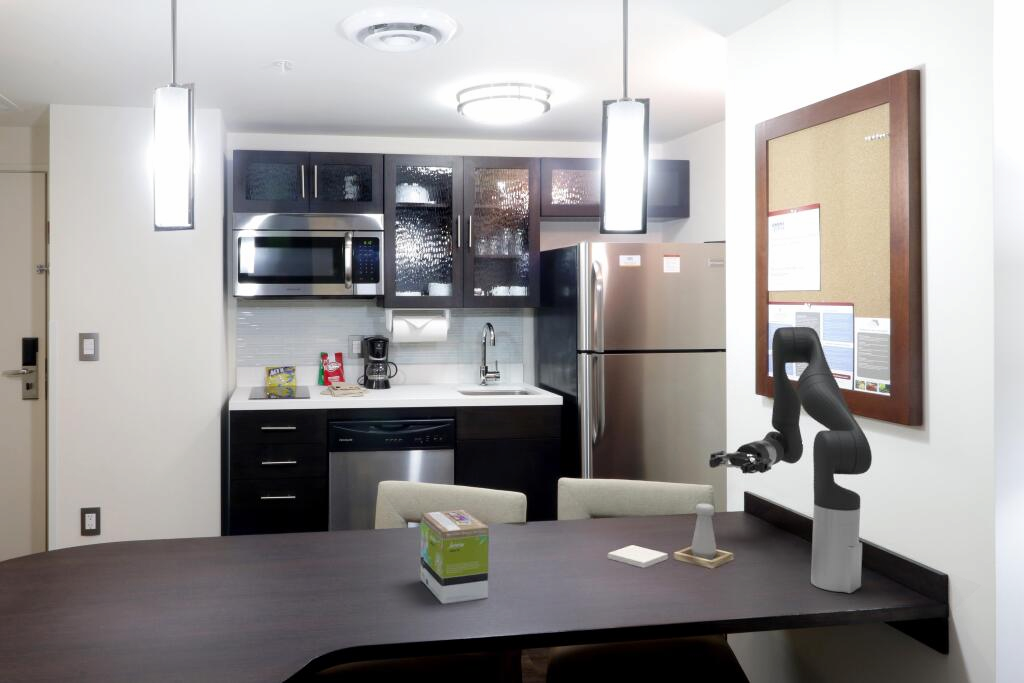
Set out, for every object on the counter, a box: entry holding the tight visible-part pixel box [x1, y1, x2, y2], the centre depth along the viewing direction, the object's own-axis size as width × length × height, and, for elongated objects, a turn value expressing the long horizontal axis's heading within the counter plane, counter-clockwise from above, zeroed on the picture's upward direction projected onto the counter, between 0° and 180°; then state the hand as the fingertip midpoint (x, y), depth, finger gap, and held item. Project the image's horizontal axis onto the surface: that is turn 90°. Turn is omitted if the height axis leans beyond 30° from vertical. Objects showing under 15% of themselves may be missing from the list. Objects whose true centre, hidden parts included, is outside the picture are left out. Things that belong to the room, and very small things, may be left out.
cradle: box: [673, 545, 734, 570], centre depth 191 cm, size 10×10×2 cm
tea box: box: [420, 509, 490, 605], centre depth 166 cm, size 15×10×15 cm, turn 23°
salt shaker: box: [691, 503, 718, 560], centre depth 191 cm, size 6×6×13 cm
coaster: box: [607, 544, 669, 569], centre depth 191 cm, size 10×10×1 cm
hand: (727, 466), depth 198 cm, fingers open, 8 cm apart
